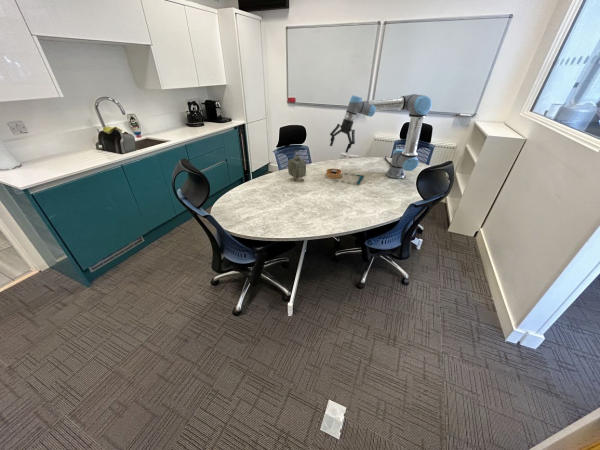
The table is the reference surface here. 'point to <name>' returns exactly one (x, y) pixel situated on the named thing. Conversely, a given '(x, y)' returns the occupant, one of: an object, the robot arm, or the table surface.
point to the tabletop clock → (297, 167)
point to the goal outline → (359, 179)
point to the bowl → (337, 175)
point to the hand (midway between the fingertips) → (338, 149)
